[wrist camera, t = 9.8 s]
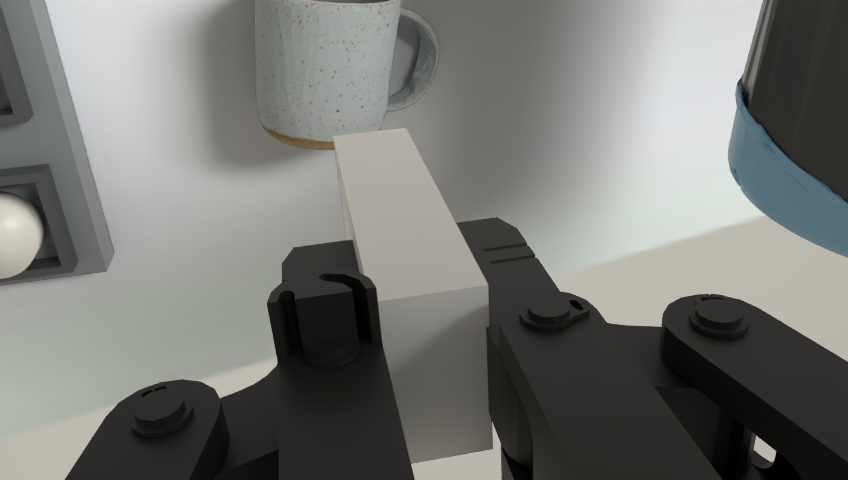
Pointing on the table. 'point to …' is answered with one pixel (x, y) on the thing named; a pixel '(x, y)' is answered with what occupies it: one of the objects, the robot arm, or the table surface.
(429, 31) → the ceramic mug
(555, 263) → the table surface
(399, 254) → the robot arm
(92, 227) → the button board
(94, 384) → the table surface
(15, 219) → the button
